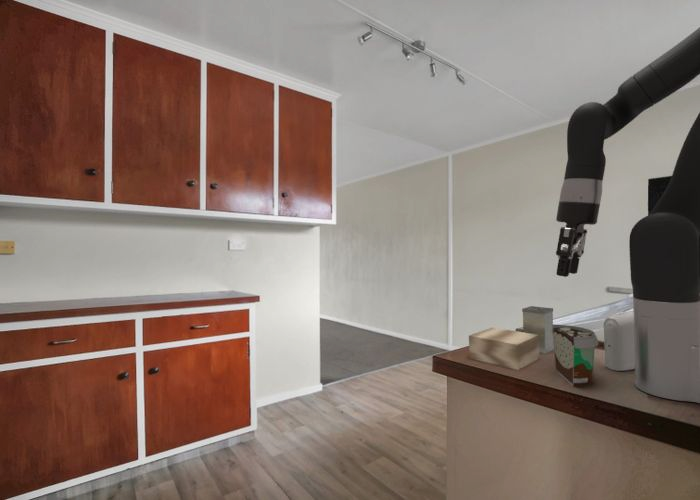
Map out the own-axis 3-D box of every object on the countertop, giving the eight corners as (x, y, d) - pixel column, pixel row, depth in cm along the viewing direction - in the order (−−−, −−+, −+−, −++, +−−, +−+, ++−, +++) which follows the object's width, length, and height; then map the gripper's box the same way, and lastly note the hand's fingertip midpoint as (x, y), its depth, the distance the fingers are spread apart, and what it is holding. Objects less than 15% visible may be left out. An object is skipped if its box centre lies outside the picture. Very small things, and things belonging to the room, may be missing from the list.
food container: (612, 391, 65) (611, 338, 65) (576, 389, 66) (575, 337, 66) (582, 368, 77) (581, 324, 77) (552, 367, 78) (551, 323, 78)
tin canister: (554, 349, 92) (553, 308, 92) (545, 354, 88) (544, 311, 88) (532, 345, 96) (531, 306, 96) (523, 349, 93) (522, 308, 92)
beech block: (539, 359, 85) (538, 334, 85) (518, 371, 78) (517, 344, 78) (492, 349, 95) (492, 327, 95) (469, 359, 87) (468, 335, 87)
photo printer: (620, 373, 74) (619, 315, 74) (601, 366, 78) (600, 312, 78) (655, 367, 77) (654, 312, 77) (635, 361, 81) (634, 308, 81)
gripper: (594, 199, 67) (580, 281, 69) (605, 204, 78) (592, 275, 80) (551, 198, 72) (539, 273, 74) (567, 202, 83) (556, 269, 85)
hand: (566, 274), depth 77 cm, fingers open, 8 cm apart
